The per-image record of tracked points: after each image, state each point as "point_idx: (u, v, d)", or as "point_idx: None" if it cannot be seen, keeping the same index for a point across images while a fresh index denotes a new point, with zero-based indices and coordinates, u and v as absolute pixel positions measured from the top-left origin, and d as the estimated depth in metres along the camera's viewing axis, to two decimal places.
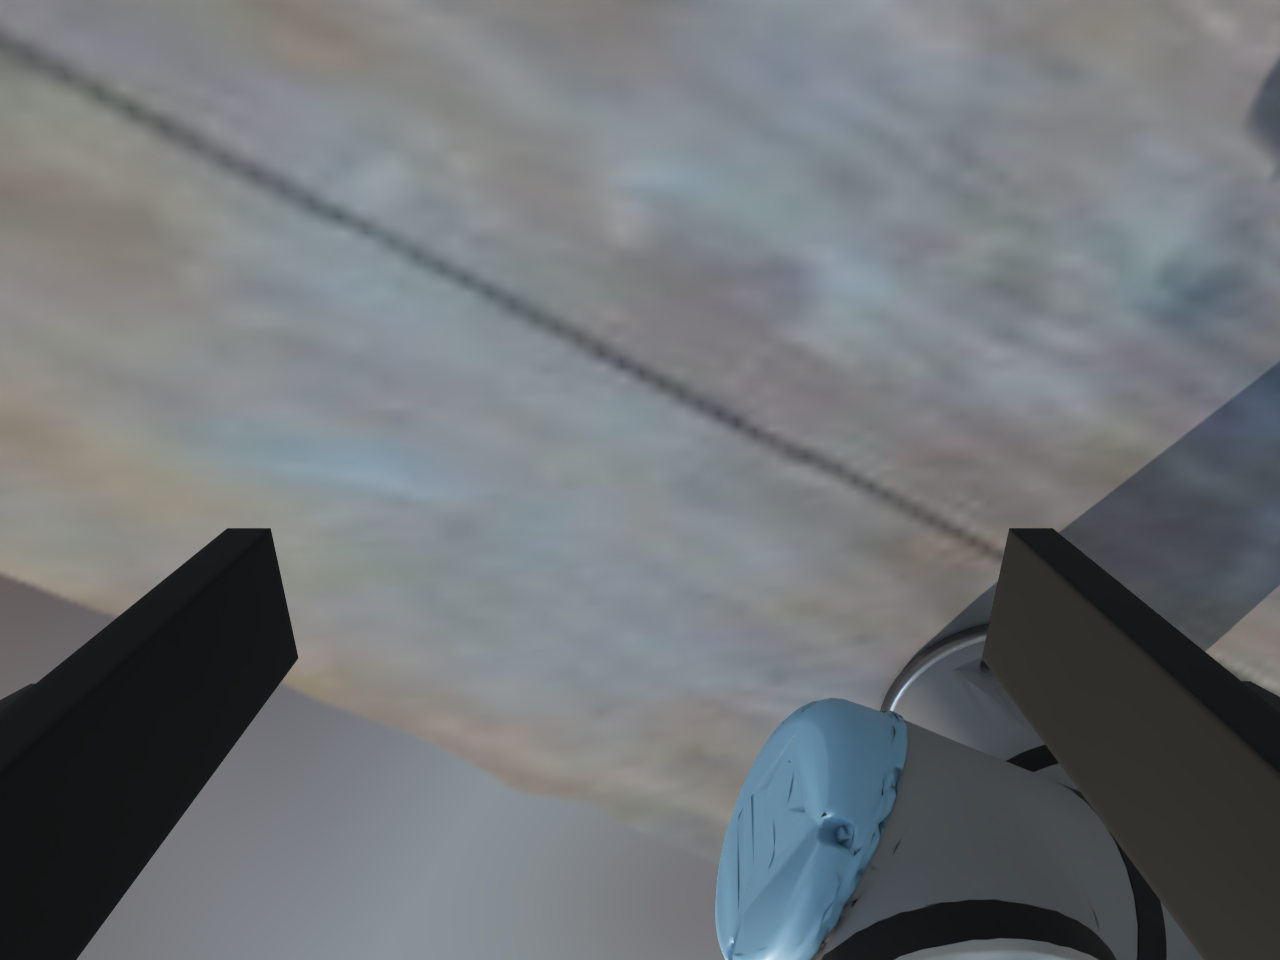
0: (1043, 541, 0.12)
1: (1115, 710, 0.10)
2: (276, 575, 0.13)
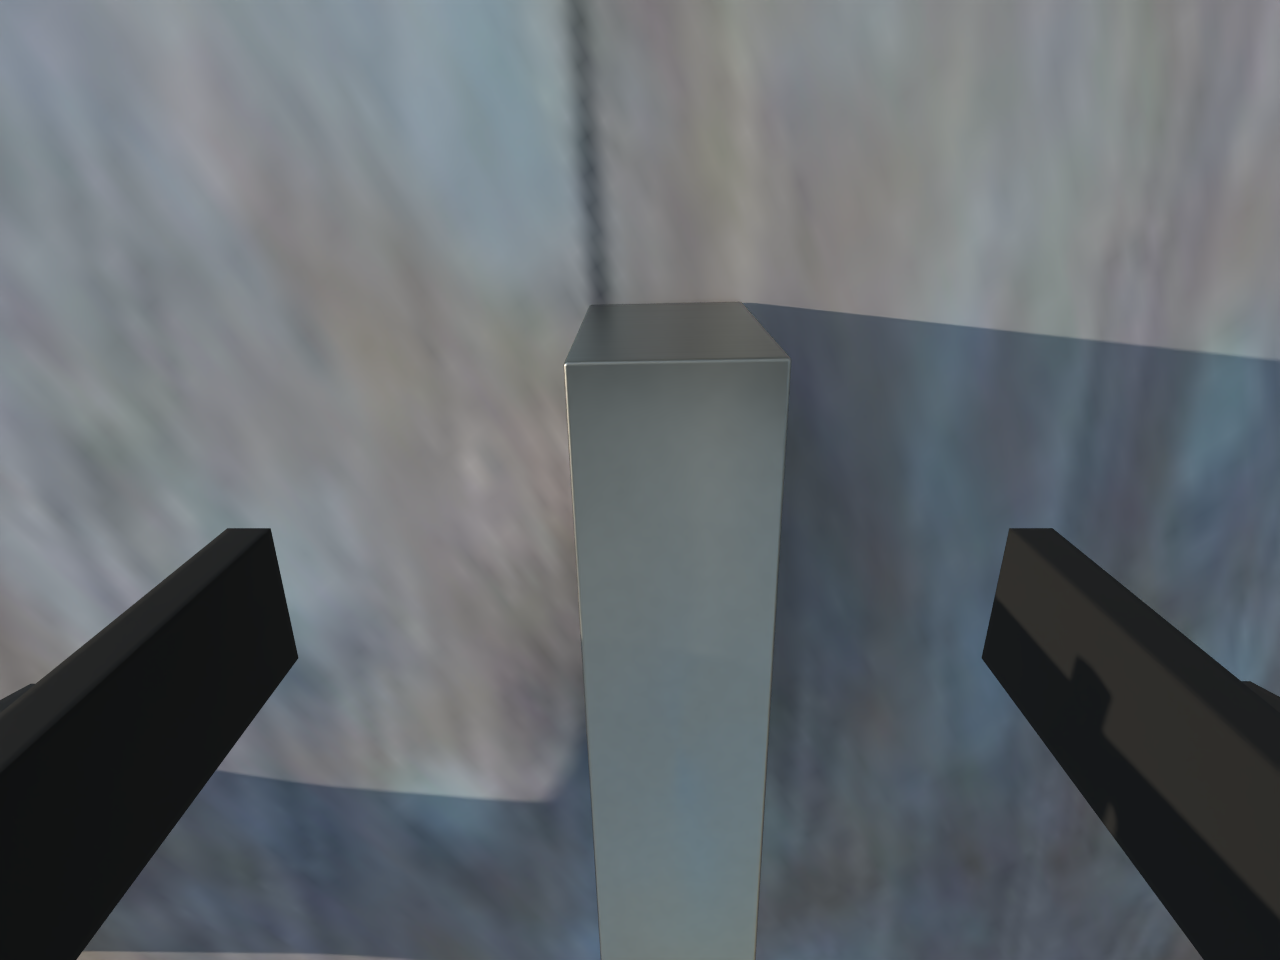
0: (1043, 541, 0.12)
1: (1115, 710, 0.10)
2: (275, 575, 0.13)
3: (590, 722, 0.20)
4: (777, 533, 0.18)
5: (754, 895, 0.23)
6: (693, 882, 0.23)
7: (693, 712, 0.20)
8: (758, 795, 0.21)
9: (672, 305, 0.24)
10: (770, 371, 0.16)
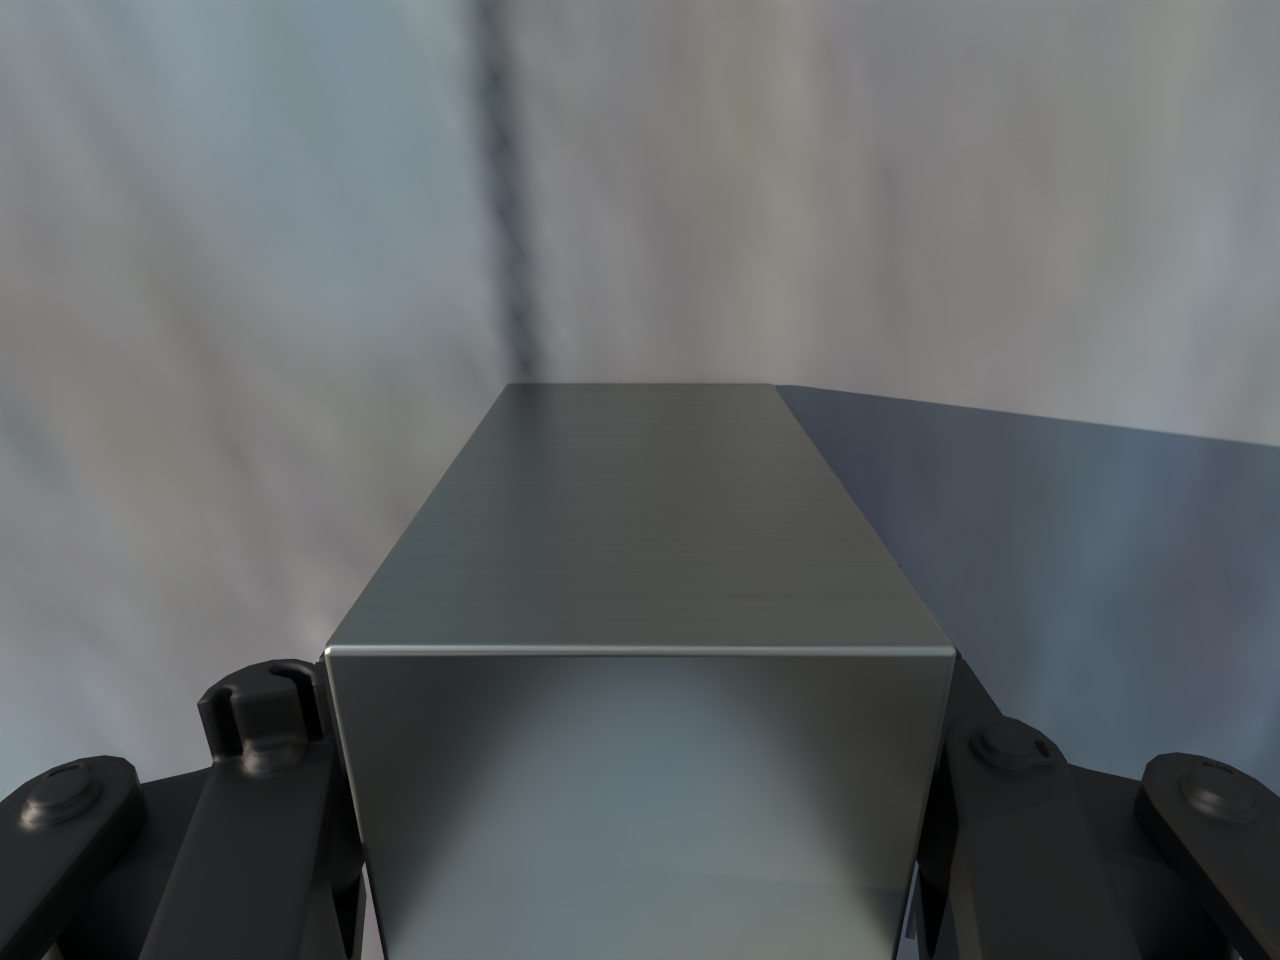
0: None
1: None
2: None
3: None
4: None
5: None
6: None
7: None
8: None
9: (651, 390, 0.13)
10: (900, 680, 0.06)
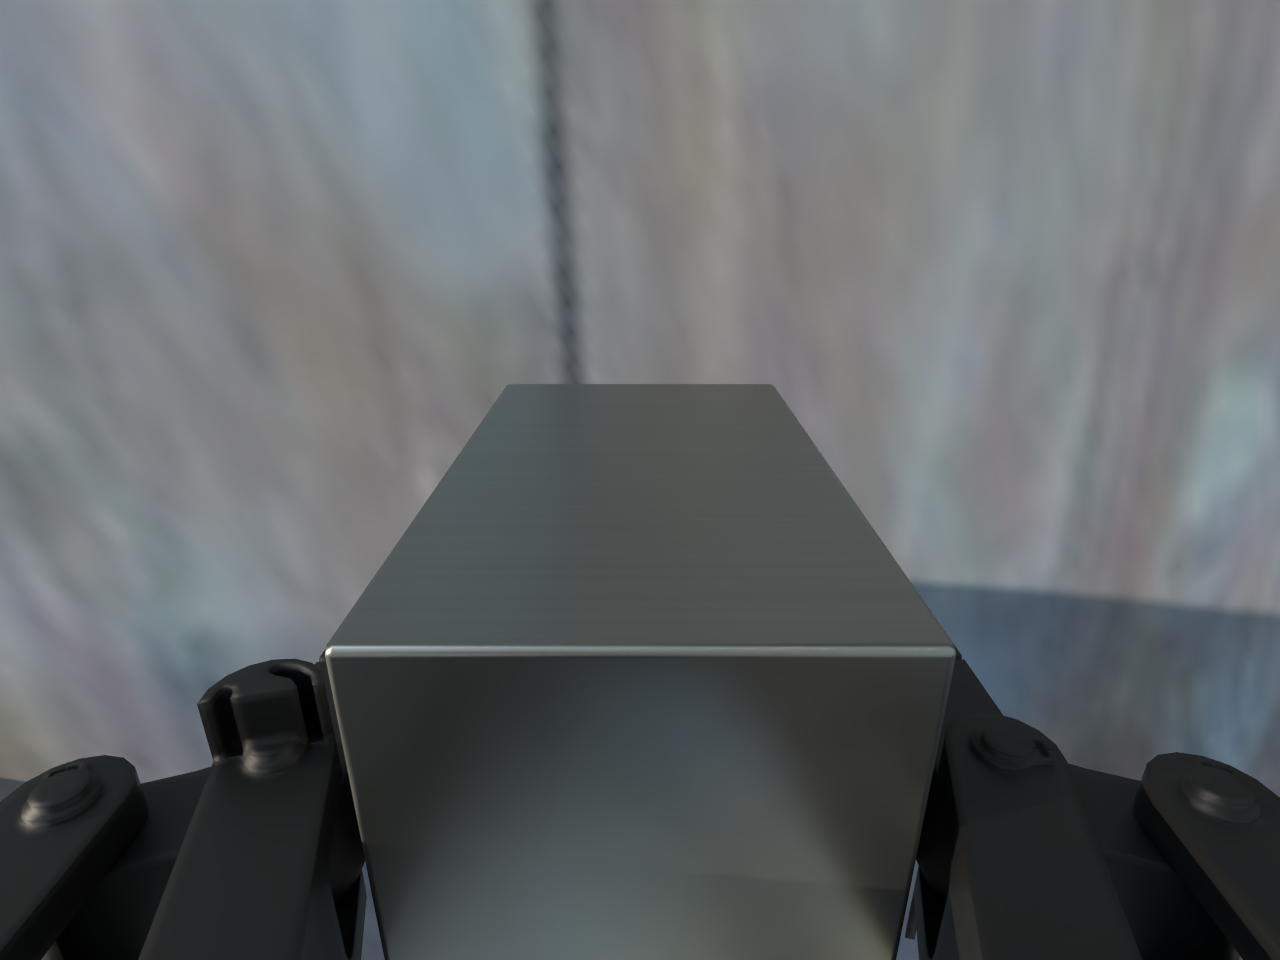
0: None
1: None
2: None
3: None
4: None
5: None
6: None
7: None
8: None
9: (651, 390, 0.13)
10: (900, 679, 0.06)
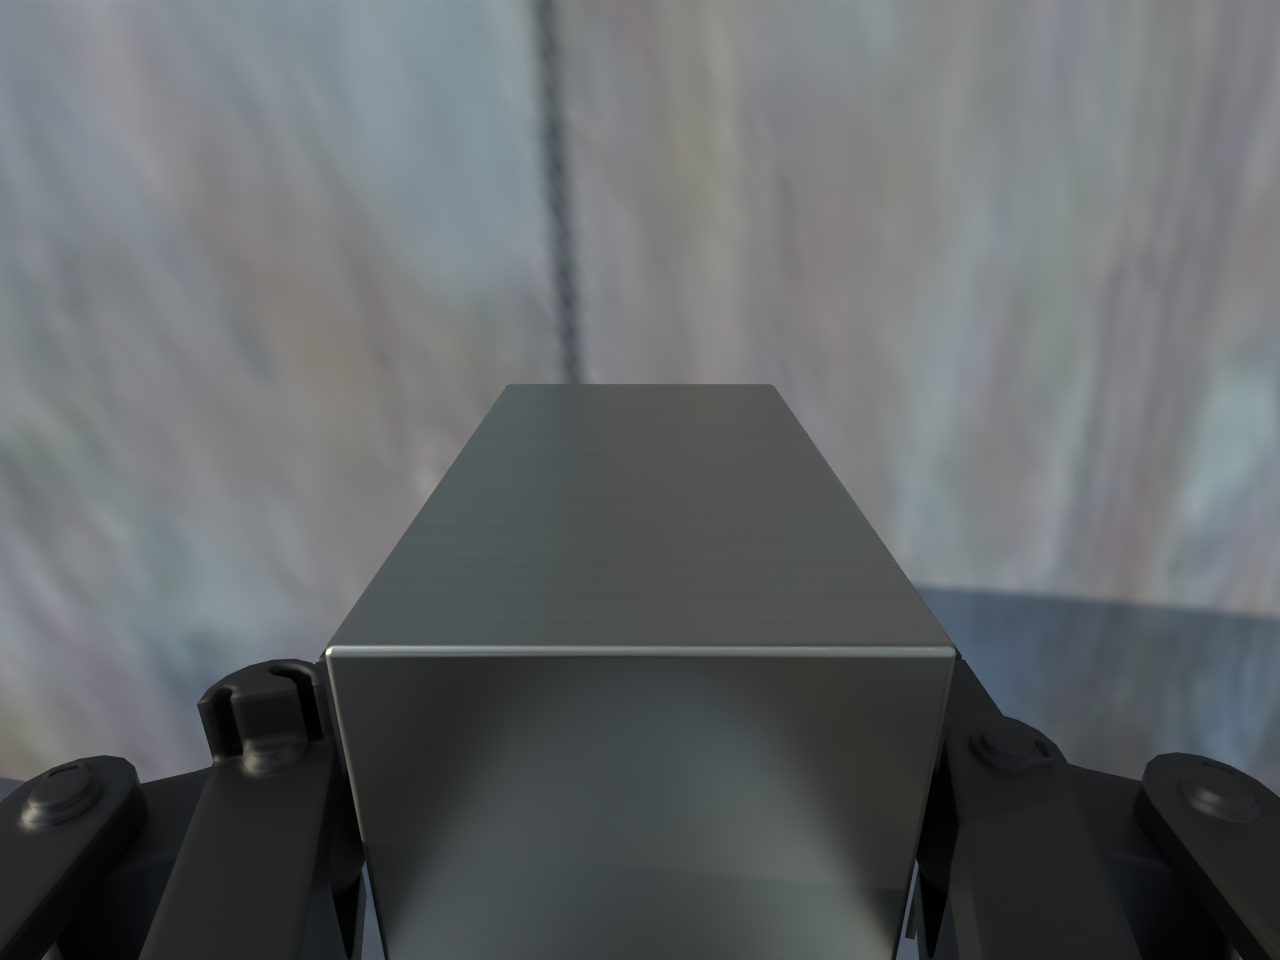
0: None
1: None
2: None
3: None
4: None
5: None
6: None
7: None
8: None
9: (651, 390, 0.13)
10: (899, 680, 0.06)
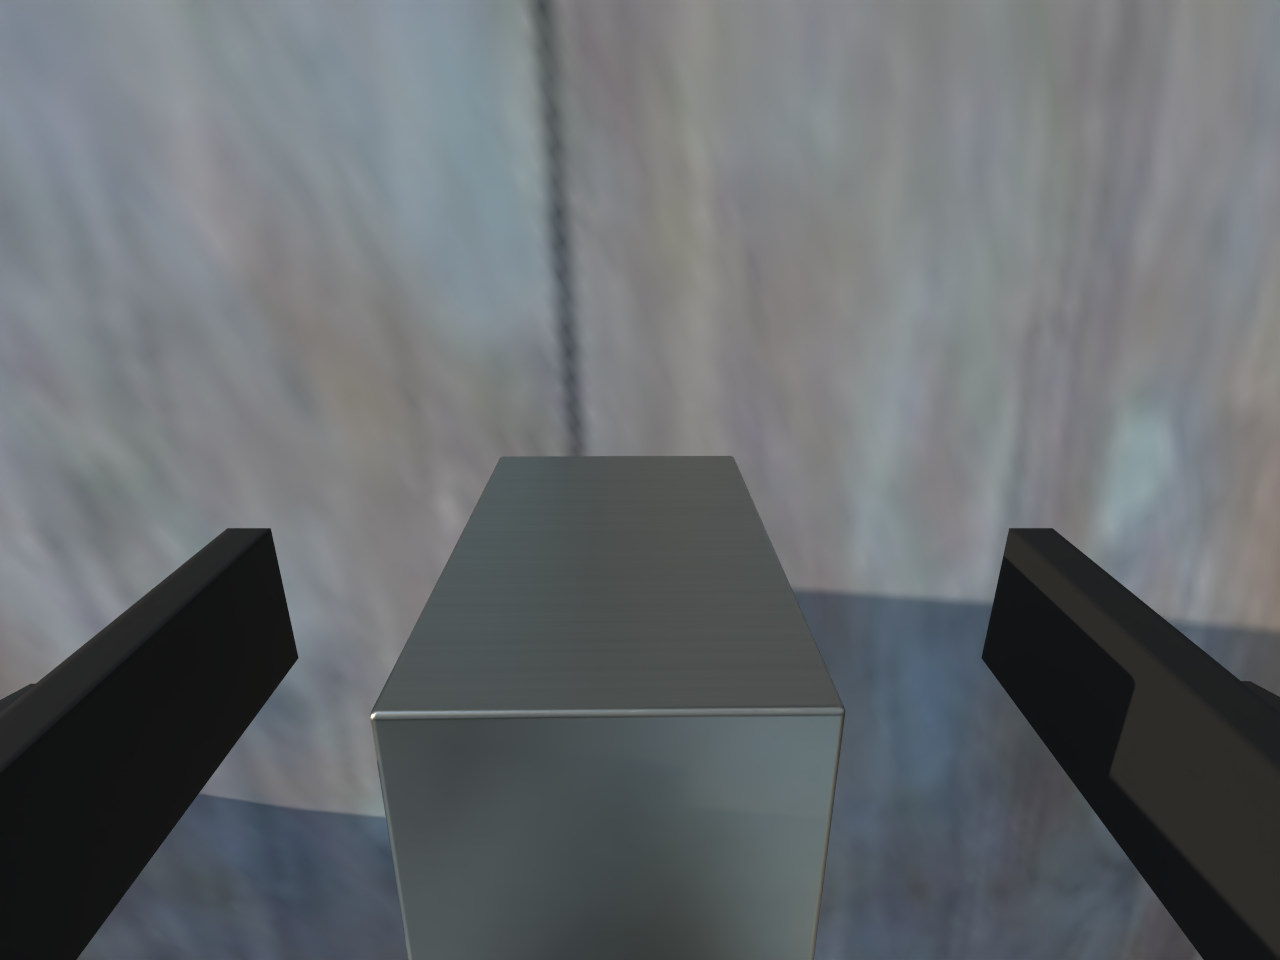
0: (1043, 541, 0.12)
1: (1115, 710, 0.10)
2: (275, 575, 0.13)
3: None
4: None
5: None
6: None
7: None
8: None
9: (627, 463, 0.15)
10: (803, 732, 0.08)
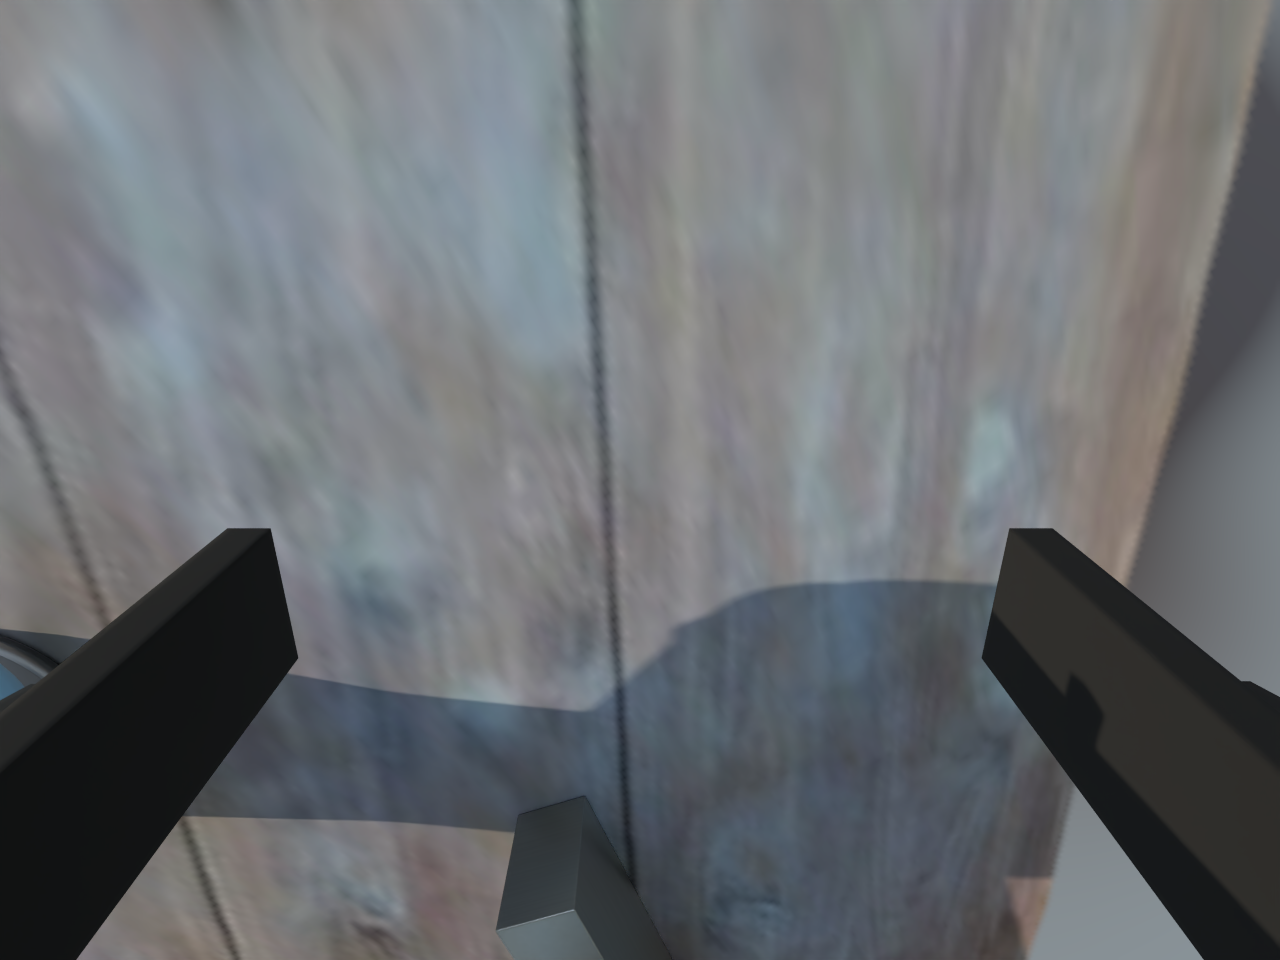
0: (1043, 541, 0.12)
1: (1115, 710, 0.10)
2: (275, 575, 0.13)
3: None
4: (601, 958, 0.44)
5: None
6: None
7: None
8: None
9: (553, 811, 0.51)
10: (569, 915, 0.43)
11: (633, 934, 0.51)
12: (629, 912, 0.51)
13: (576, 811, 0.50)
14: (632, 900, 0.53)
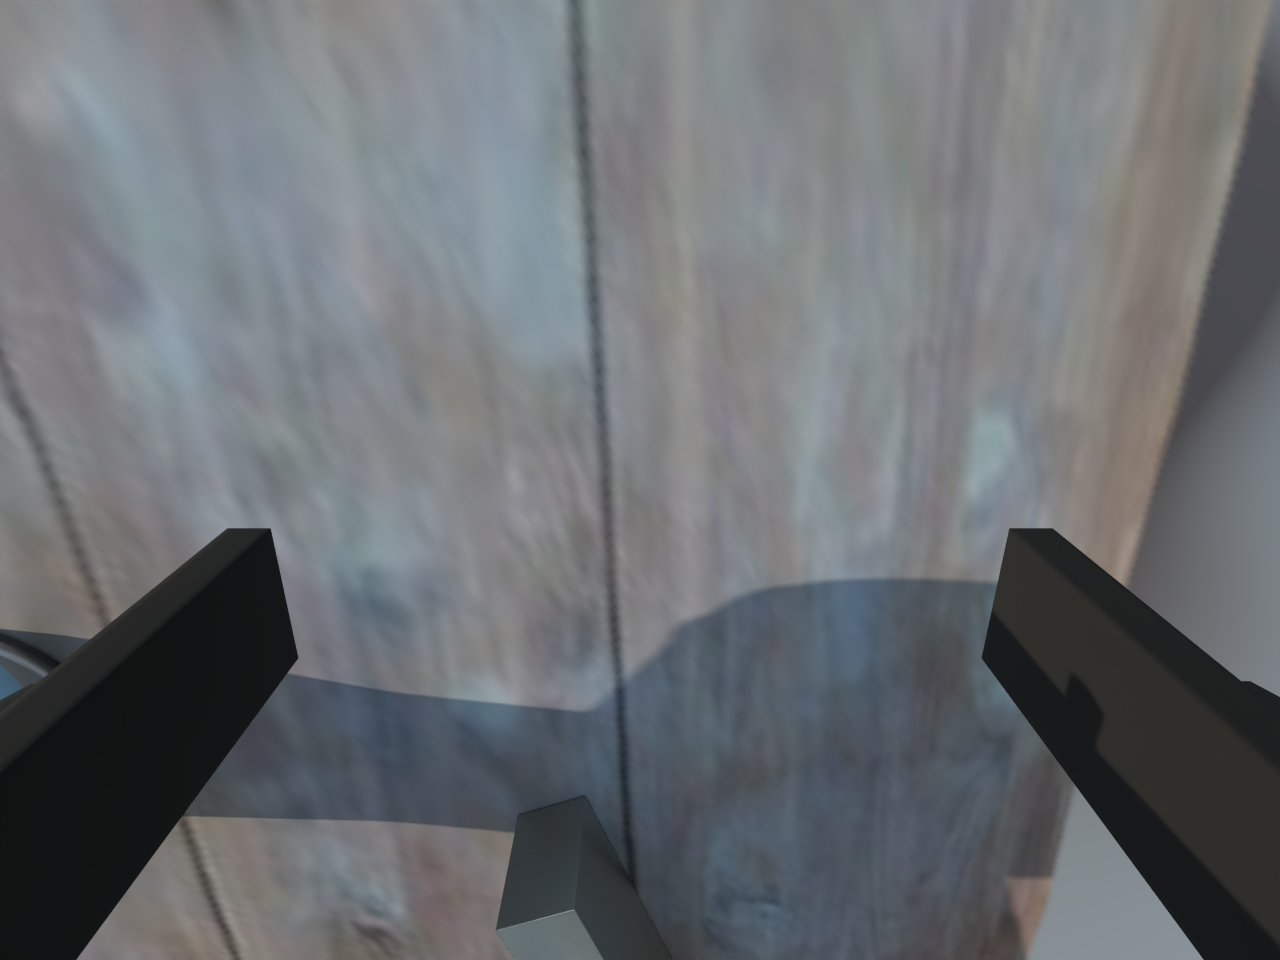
0: (1043, 541, 0.12)
1: (1115, 710, 0.10)
2: (275, 575, 0.13)
3: None
4: (600, 958, 0.44)
5: None
6: None
7: None
8: None
9: (553, 811, 0.51)
10: (569, 915, 0.43)
11: (633, 934, 0.51)
12: (629, 912, 0.51)
13: (576, 811, 0.50)
14: (632, 900, 0.53)
